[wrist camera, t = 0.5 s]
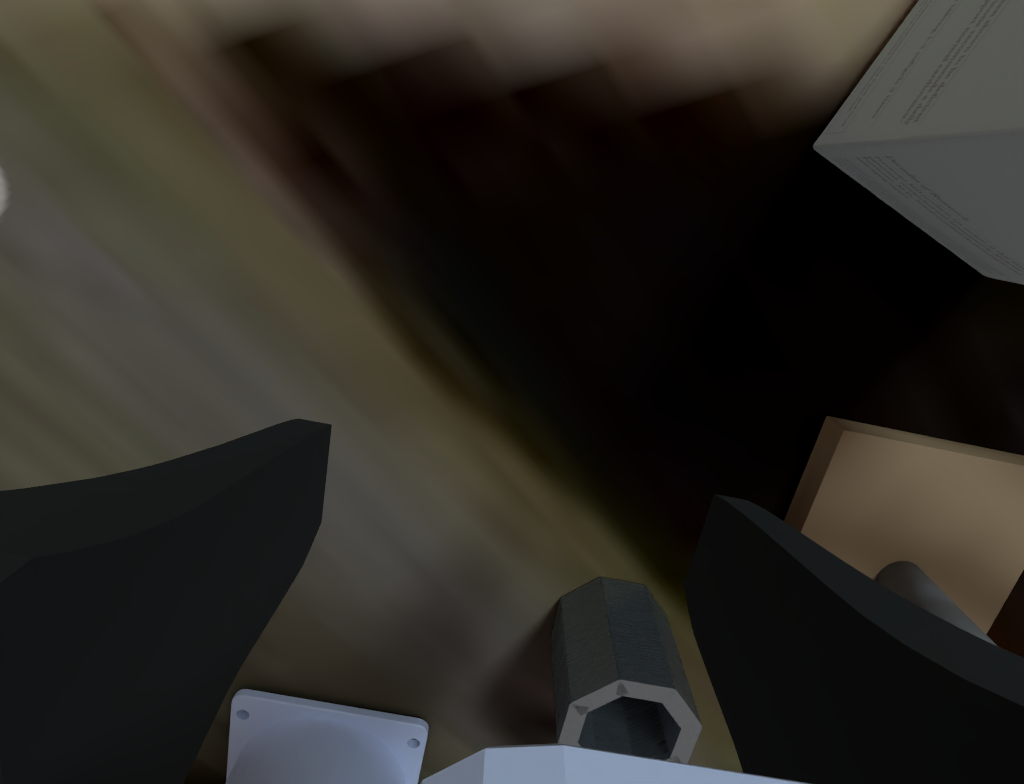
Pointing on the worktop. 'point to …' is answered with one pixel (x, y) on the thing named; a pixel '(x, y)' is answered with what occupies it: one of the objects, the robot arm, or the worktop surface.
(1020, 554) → the shaft block
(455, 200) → the worktop surface
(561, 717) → the tube
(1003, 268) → the supplement box
